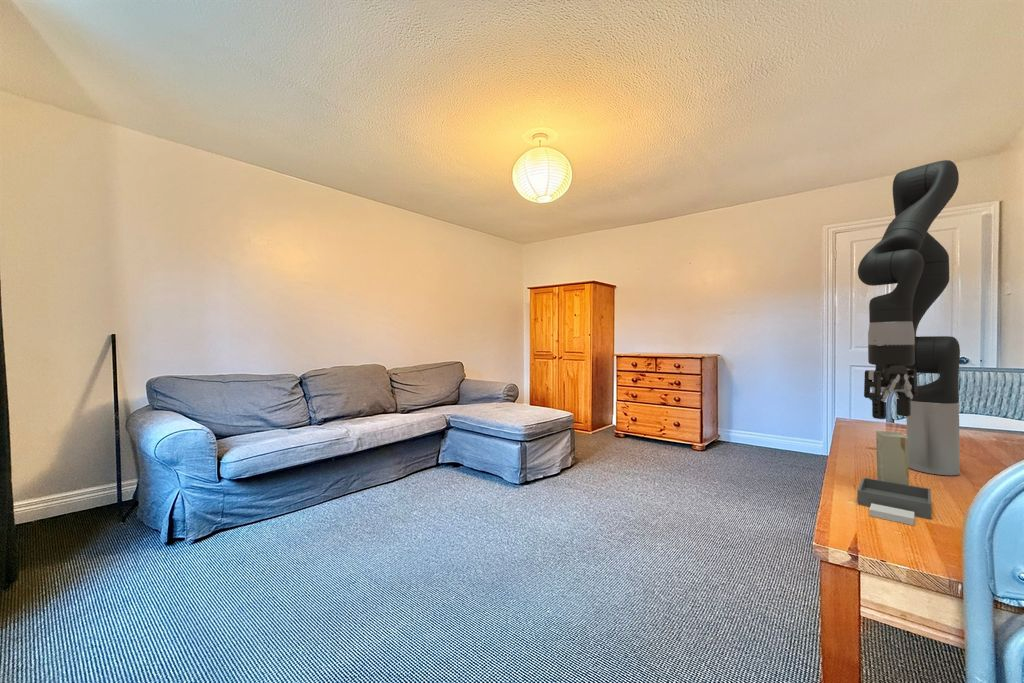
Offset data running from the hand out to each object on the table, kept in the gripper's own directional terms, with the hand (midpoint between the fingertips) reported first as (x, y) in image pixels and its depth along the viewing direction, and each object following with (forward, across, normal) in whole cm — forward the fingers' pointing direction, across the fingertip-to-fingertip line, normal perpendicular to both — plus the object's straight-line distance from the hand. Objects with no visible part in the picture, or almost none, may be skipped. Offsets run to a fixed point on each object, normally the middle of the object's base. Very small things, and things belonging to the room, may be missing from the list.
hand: (891, 417), depth 90 cm
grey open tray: (+16, +11, +6) cm, 20 cm away
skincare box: (+16, 0, 0) cm, 16 cm away
